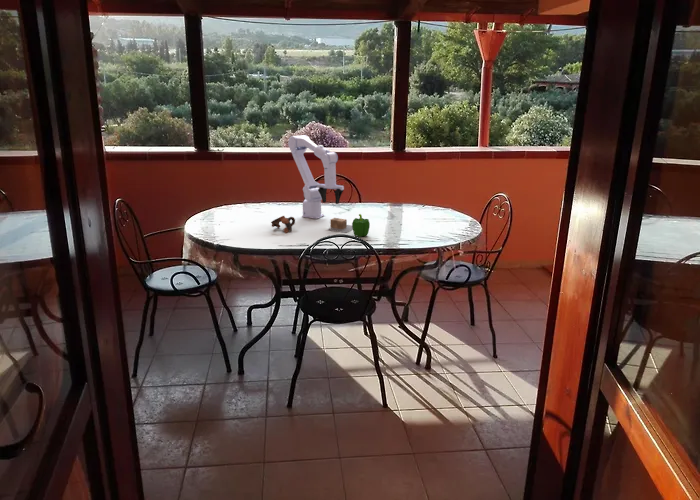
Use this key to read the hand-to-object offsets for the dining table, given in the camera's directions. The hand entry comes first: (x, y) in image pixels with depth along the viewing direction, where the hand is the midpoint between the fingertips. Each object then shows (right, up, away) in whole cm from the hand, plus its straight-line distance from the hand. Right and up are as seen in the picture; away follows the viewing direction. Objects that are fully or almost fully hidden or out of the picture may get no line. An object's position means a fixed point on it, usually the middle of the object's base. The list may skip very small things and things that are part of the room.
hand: (330, 202), depth 280 cm
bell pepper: (+15, -17, -19) cm, 30 cm away
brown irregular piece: (-23, -14, -11) cm, 29 cm away
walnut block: (+1, -10, -6) cm, 12 cm away
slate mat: (+6, -13, -8) cm, 17 cm away
